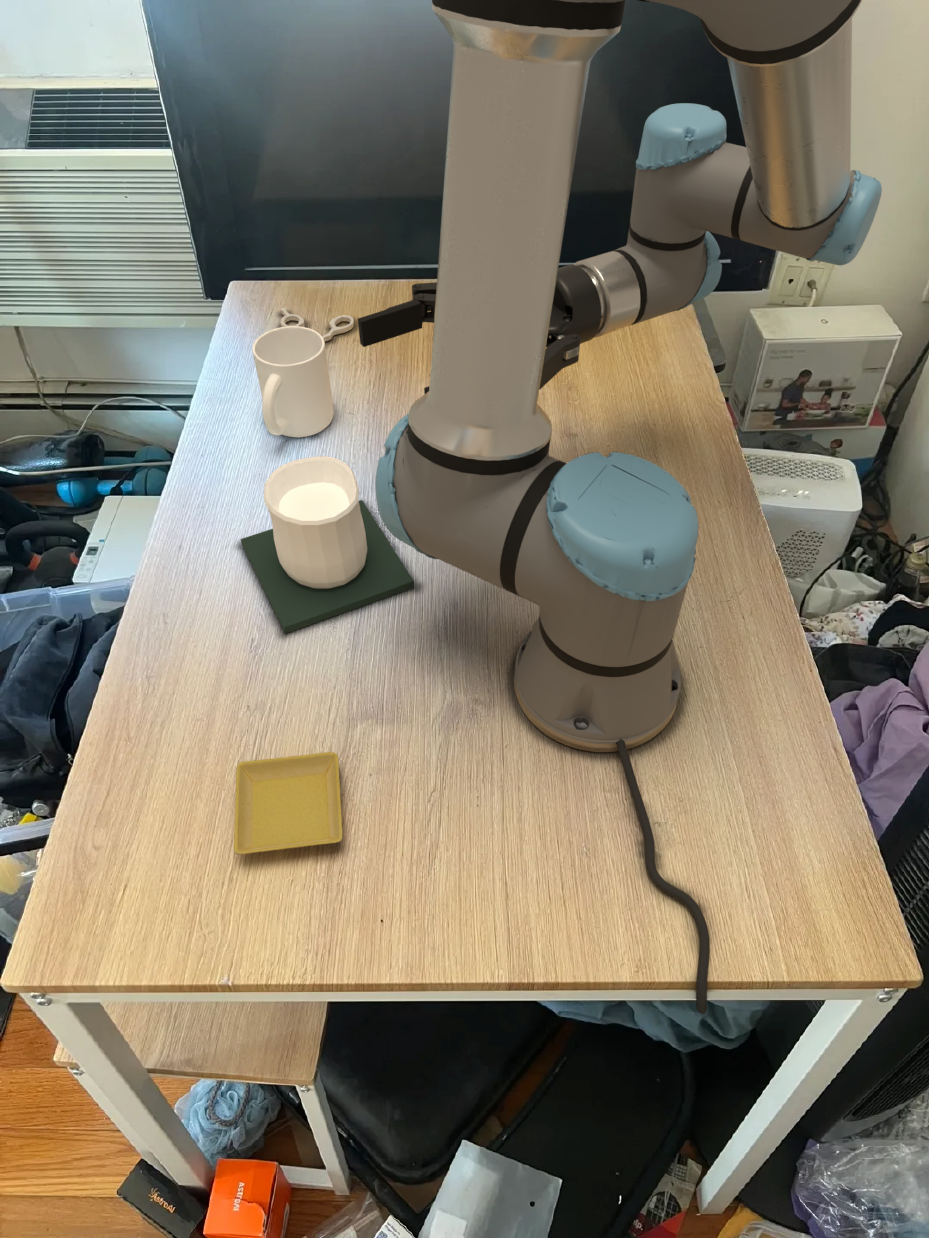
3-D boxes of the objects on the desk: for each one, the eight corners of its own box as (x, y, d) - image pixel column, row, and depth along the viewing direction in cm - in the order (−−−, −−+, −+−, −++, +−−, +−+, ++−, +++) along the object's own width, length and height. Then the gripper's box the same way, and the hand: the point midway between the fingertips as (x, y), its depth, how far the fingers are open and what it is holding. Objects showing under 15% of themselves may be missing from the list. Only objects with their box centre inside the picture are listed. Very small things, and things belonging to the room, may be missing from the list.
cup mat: (414, 587, 94) (414, 581, 93) (284, 634, 90) (283, 627, 89) (362, 506, 102) (361, 499, 101) (242, 545, 98) (240, 538, 97)
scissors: (356, 309, 128) (334, 392, 115) (356, 314, 128) (335, 397, 115) (281, 307, 128) (251, 390, 115) (282, 312, 129) (252, 395, 116)
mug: (305, 464, 107) (292, 390, 99) (241, 451, 109) (224, 376, 101) (344, 405, 114) (335, 332, 107) (284, 394, 116) (271, 321, 108)
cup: (326, 513, 100) (315, 442, 92) (391, 556, 95) (384, 484, 88) (258, 559, 95) (241, 488, 88) (323, 607, 91) (310, 536, 83)
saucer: (340, 763, 80) (338, 749, 78) (345, 853, 74) (342, 840, 73) (240, 774, 79) (236, 761, 78) (238, 866, 73) (233, 854, 72)
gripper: (653, 396, 87) (460, 472, 80) (514, 283, 101) (339, 339, 94) (666, 326, 81) (459, 401, 74) (517, 216, 95) (330, 270, 88)
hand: (391, 366), depth 84 cm, fingers open, 12 cm apart
